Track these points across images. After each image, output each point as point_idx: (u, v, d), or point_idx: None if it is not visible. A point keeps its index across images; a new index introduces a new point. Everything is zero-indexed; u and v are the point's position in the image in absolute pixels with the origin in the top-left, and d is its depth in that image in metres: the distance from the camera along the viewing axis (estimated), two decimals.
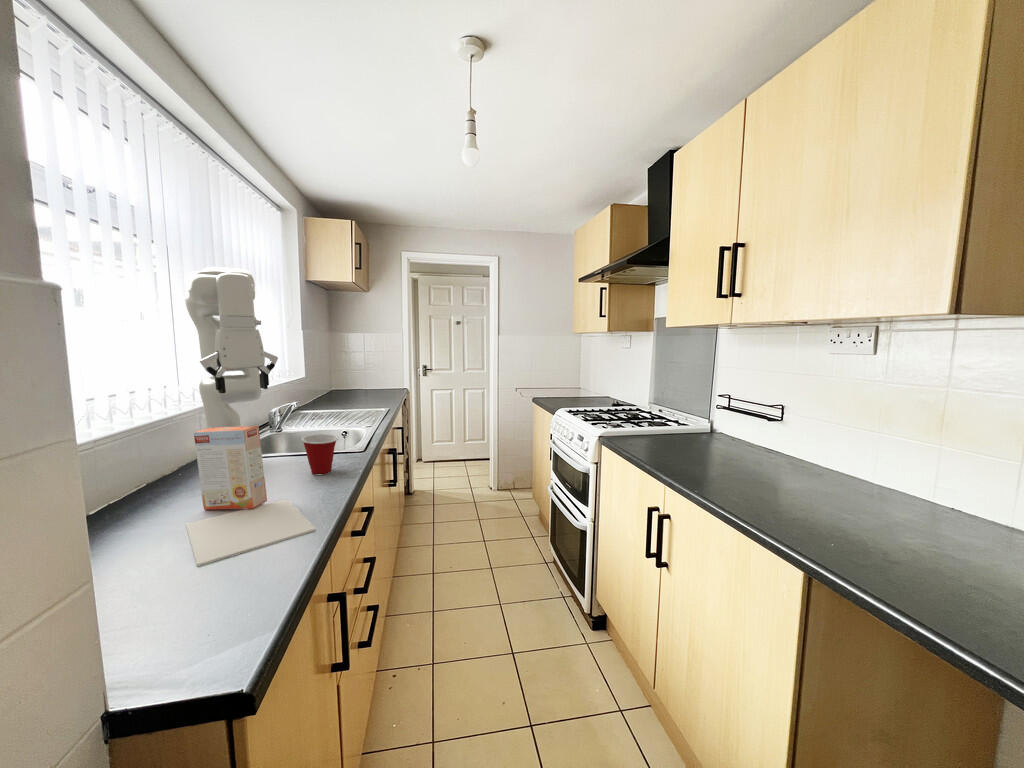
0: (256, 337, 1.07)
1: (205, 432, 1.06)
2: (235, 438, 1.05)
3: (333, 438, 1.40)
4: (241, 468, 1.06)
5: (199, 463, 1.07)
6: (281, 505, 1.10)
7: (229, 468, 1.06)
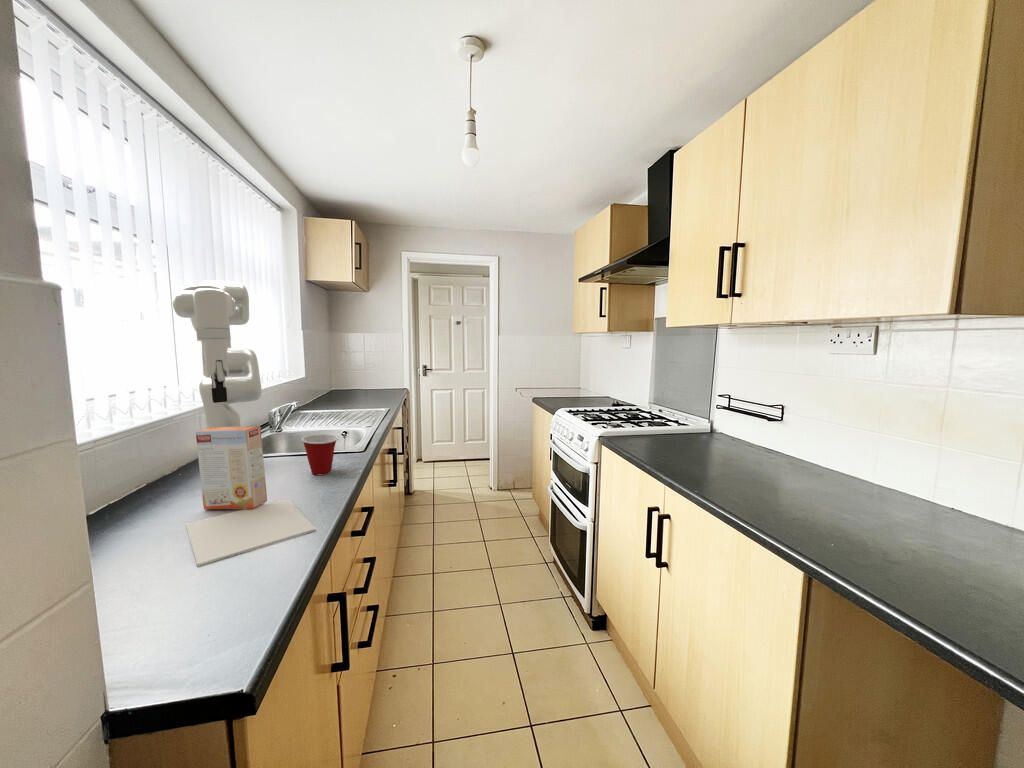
0: None
1: (207, 432, 1.06)
2: (237, 438, 1.05)
3: (333, 438, 1.40)
4: (241, 467, 1.06)
5: (200, 462, 1.07)
6: (281, 505, 1.10)
7: (230, 468, 1.06)
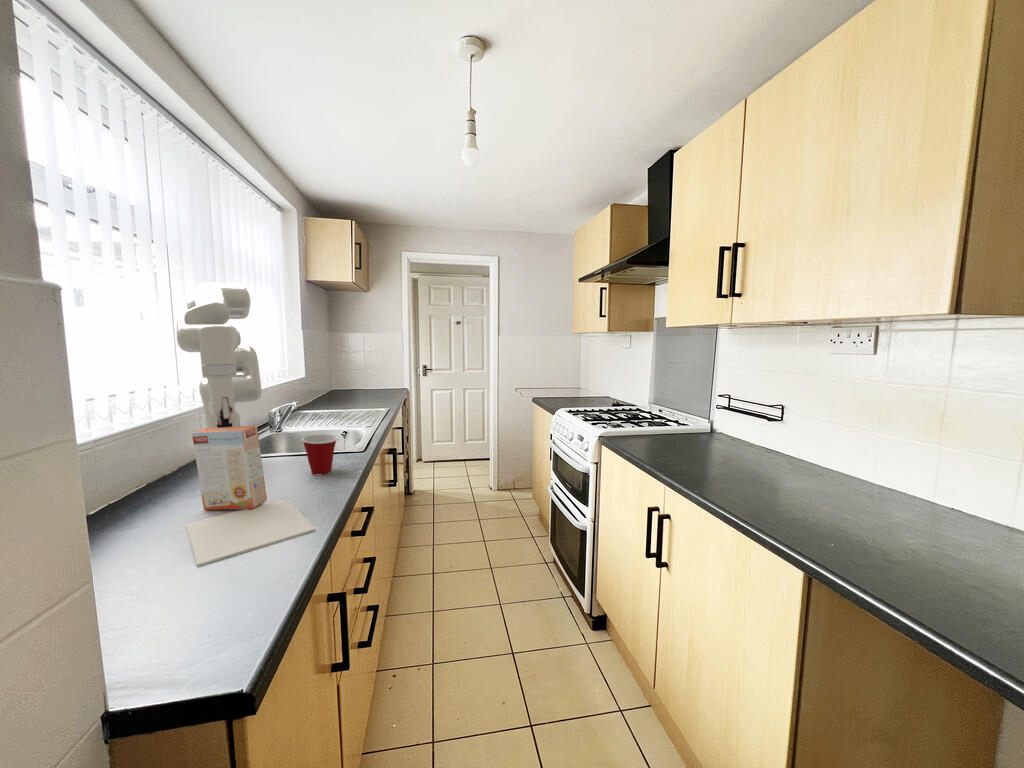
0: None
1: (204, 433, 1.05)
2: (234, 438, 1.05)
3: (333, 438, 1.40)
4: (240, 468, 1.06)
5: (198, 463, 1.07)
6: (281, 505, 1.10)
7: (228, 468, 1.06)
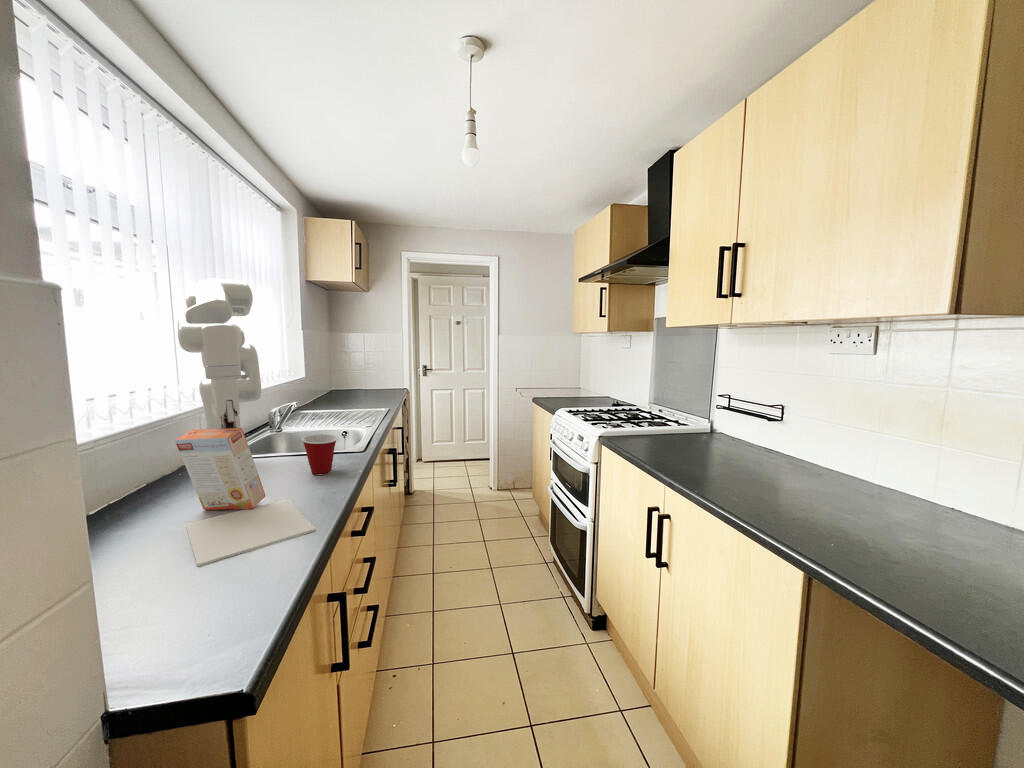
0: None
1: (187, 440, 1.01)
2: (220, 445, 1.00)
3: (333, 438, 1.40)
4: (232, 473, 1.03)
5: (188, 469, 1.04)
6: (281, 505, 1.10)
7: (220, 473, 1.03)
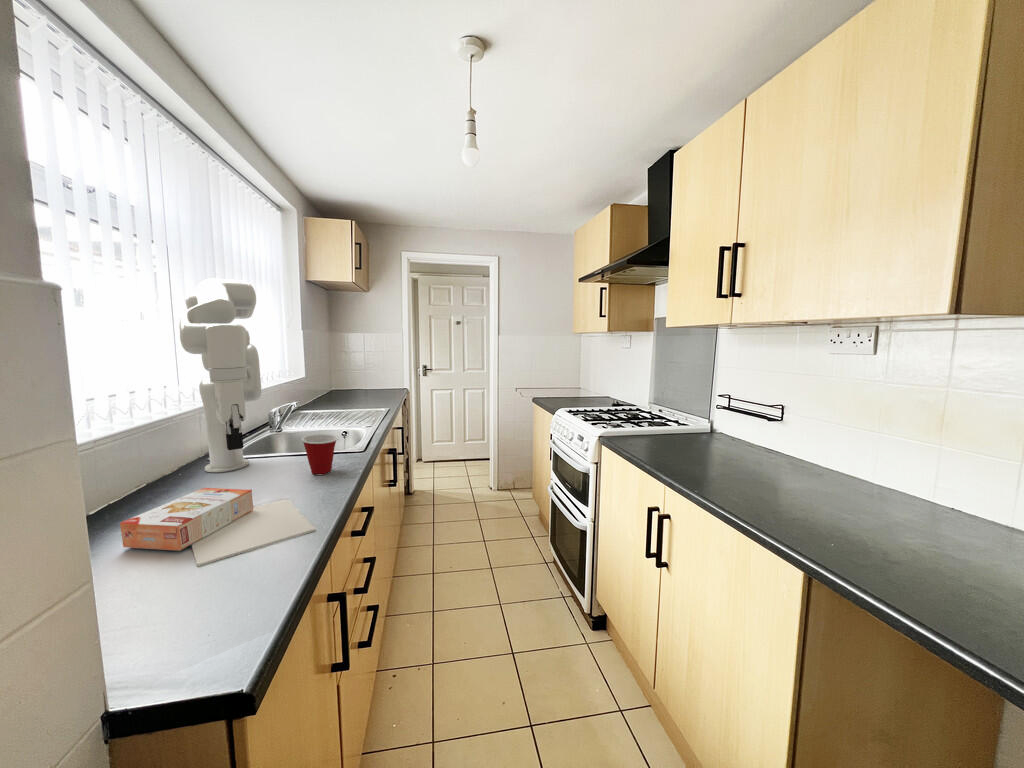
0: None
1: (138, 547, 0.88)
2: None
3: (333, 438, 1.40)
4: None
5: None
6: (281, 505, 1.10)
7: None
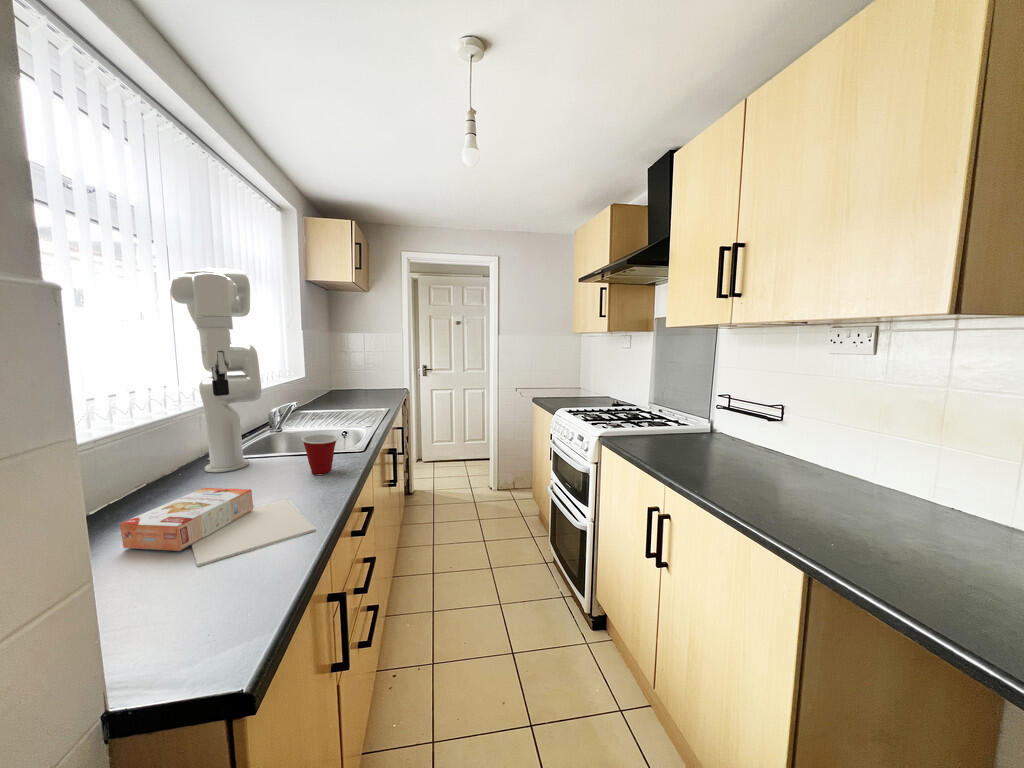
0: None
1: (138, 548, 0.88)
2: None
3: (333, 438, 1.40)
4: None
5: None
6: (281, 505, 1.10)
7: None
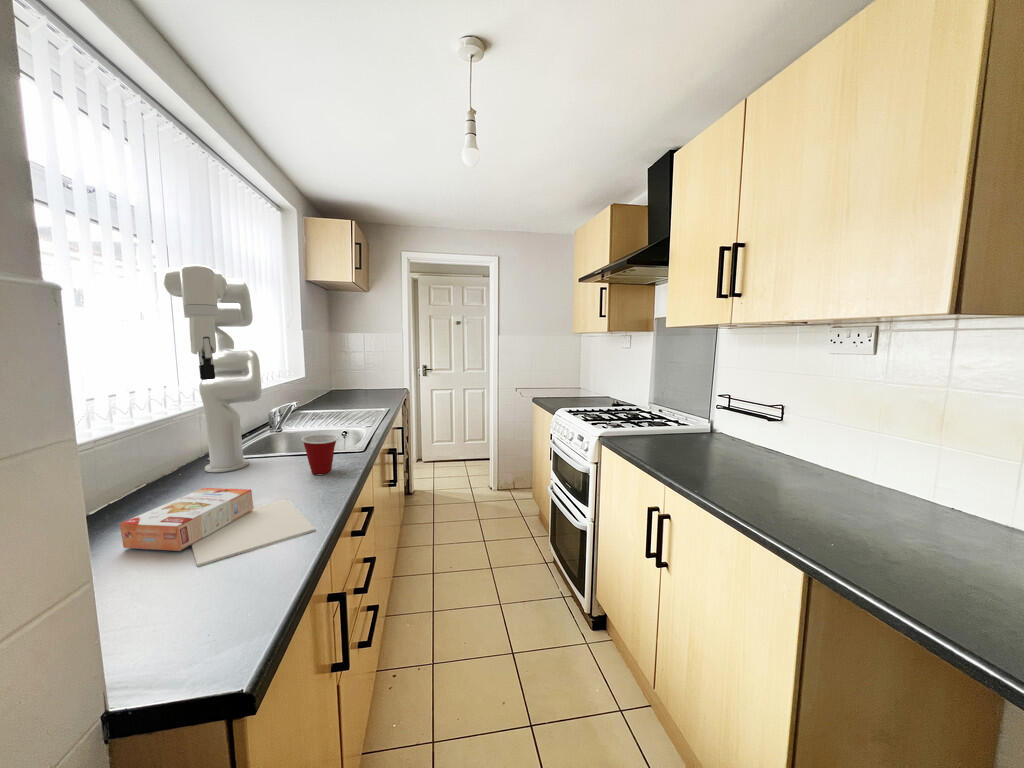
0: None
1: (138, 548, 0.88)
2: None
3: (333, 438, 1.40)
4: None
5: None
6: (281, 505, 1.10)
7: None
